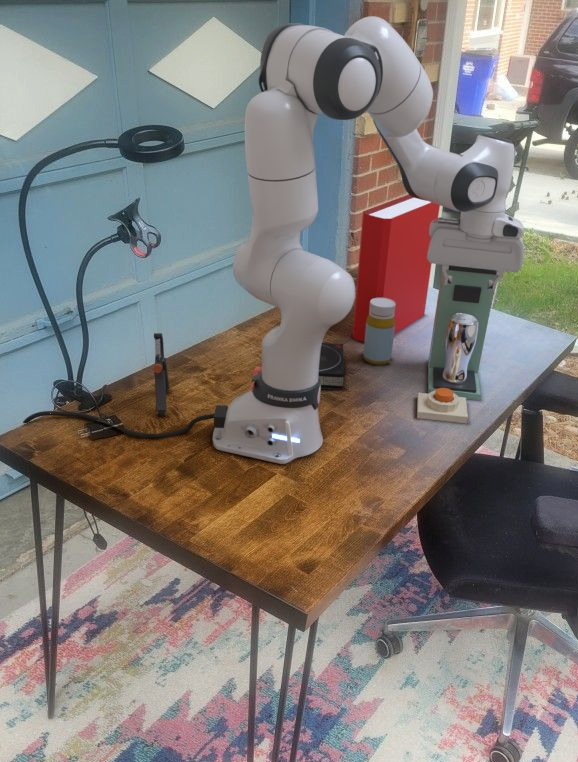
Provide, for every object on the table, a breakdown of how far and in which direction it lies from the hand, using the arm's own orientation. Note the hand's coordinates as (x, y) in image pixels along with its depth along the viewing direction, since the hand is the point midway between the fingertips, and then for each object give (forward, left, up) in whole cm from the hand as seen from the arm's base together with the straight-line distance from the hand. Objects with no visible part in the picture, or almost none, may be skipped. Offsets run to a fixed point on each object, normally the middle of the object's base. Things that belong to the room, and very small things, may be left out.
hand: (469, 287), depth 158 cm
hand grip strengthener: (-63, -21, -25) cm, 71 cm away
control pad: (-2, -11, -25) cm, 27 cm away
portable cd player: (-34, +1, -25) cm, 43 cm away
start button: (-2, -11, -22) cm, 25 cm away
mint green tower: (+1, +5, -25) cm, 25 cm away
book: (-16, +34, -25) cm, 45 cm away
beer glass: (0, +1, -23) cm, 23 cm away
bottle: (-18, +12, -25) cm, 33 cm away
